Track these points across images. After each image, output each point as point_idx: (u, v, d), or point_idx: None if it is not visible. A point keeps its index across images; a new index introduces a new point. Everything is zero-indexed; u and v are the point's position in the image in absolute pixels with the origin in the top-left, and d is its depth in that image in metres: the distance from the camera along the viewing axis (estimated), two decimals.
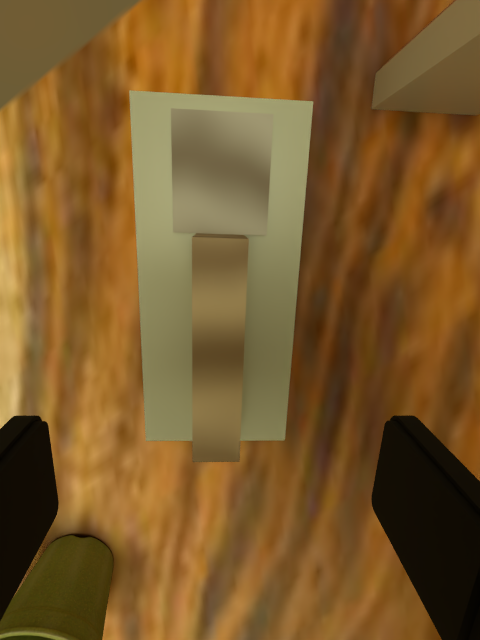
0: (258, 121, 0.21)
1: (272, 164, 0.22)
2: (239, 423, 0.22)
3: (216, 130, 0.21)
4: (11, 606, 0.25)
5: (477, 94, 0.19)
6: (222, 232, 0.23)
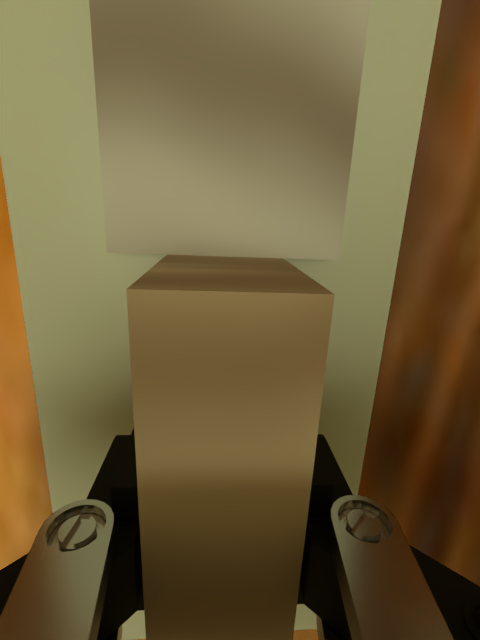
0: None
1: None
2: None
3: None
4: None
5: None
6: (231, 252, 0.09)
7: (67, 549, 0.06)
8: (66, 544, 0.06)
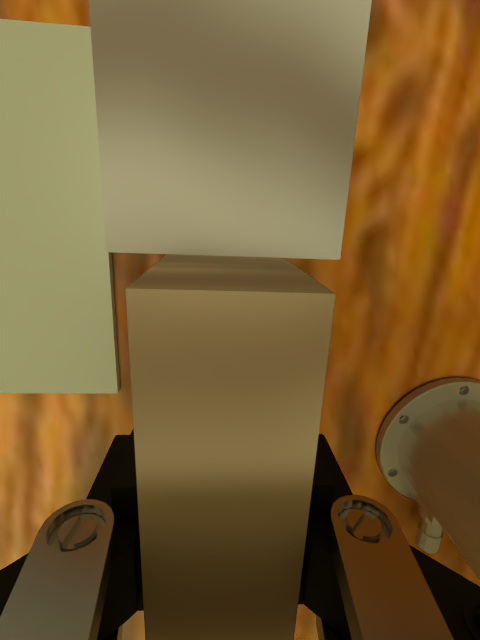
0: None
1: (59, 95, 0.21)
2: None
3: None
4: None
5: None
6: (231, 252, 0.09)
7: (67, 549, 0.06)
8: (66, 544, 0.06)
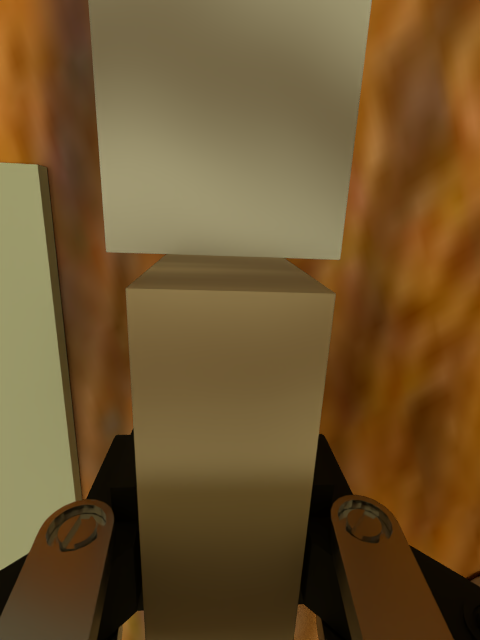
0: None
1: None
2: None
3: None
4: None
5: None
6: (231, 252, 0.09)
7: (67, 549, 0.06)
8: (66, 544, 0.06)
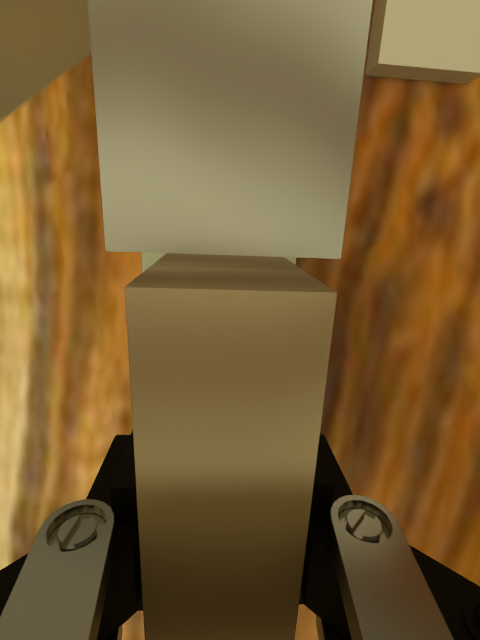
0: None
1: None
2: None
3: None
4: None
5: None
6: (231, 251, 0.09)
7: (67, 548, 0.06)
8: (66, 544, 0.06)
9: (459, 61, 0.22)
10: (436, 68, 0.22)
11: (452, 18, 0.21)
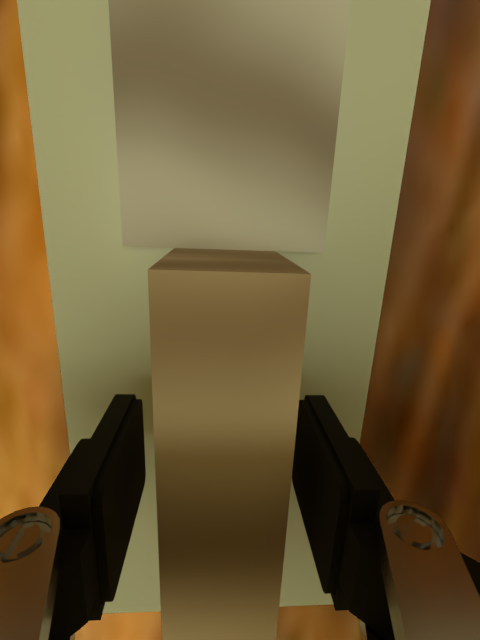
0: None
1: None
2: None
3: (217, 6, 0.09)
4: None
5: None
6: (230, 246, 0.10)
7: (10, 560, 0.06)
8: (8, 555, 0.06)
9: None
10: None
11: None
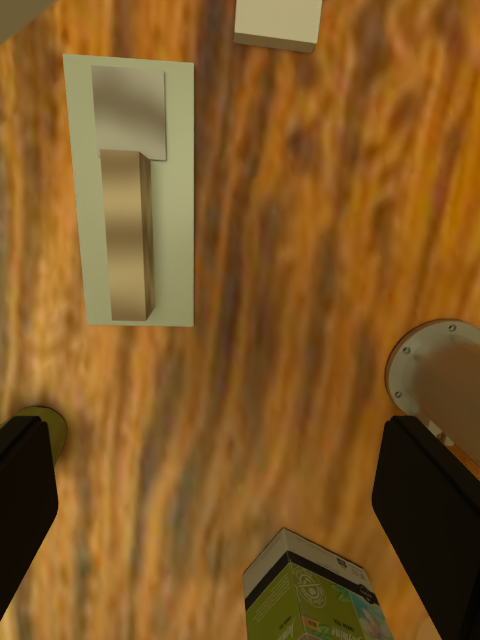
0: (153, 75, 0.30)
1: (168, 108, 0.31)
2: (143, 290, 0.31)
3: (124, 81, 0.30)
4: None
5: None
6: None
7: None
8: None
9: (295, 33, 0.29)
10: (278, 37, 0.29)
11: (287, 1, 0.29)
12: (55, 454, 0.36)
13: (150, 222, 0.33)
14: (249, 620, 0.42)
